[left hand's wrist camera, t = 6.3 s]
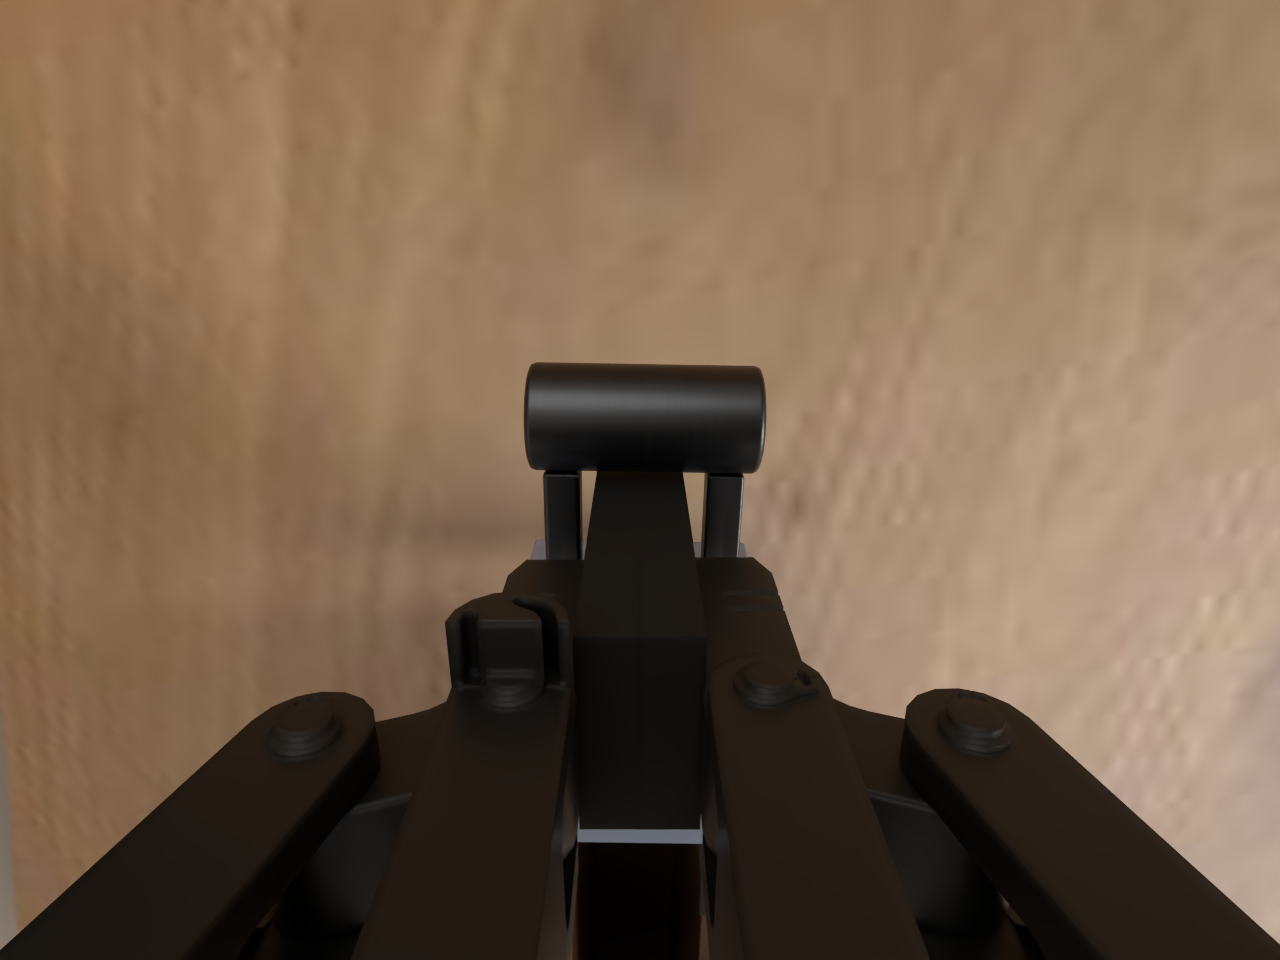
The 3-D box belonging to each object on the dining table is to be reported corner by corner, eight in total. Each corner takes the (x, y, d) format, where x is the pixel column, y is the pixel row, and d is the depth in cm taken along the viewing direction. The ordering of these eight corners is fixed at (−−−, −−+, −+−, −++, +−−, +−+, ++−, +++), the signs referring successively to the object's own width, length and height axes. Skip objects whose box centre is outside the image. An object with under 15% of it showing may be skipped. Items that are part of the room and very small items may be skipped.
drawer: (526, 312, 17) (432, 421, 9) (761, 316, 17) (861, 428, 9) (553, 1026, 25) (515, 1388, 18) (708, 1028, 25) (737, 1390, 18)
